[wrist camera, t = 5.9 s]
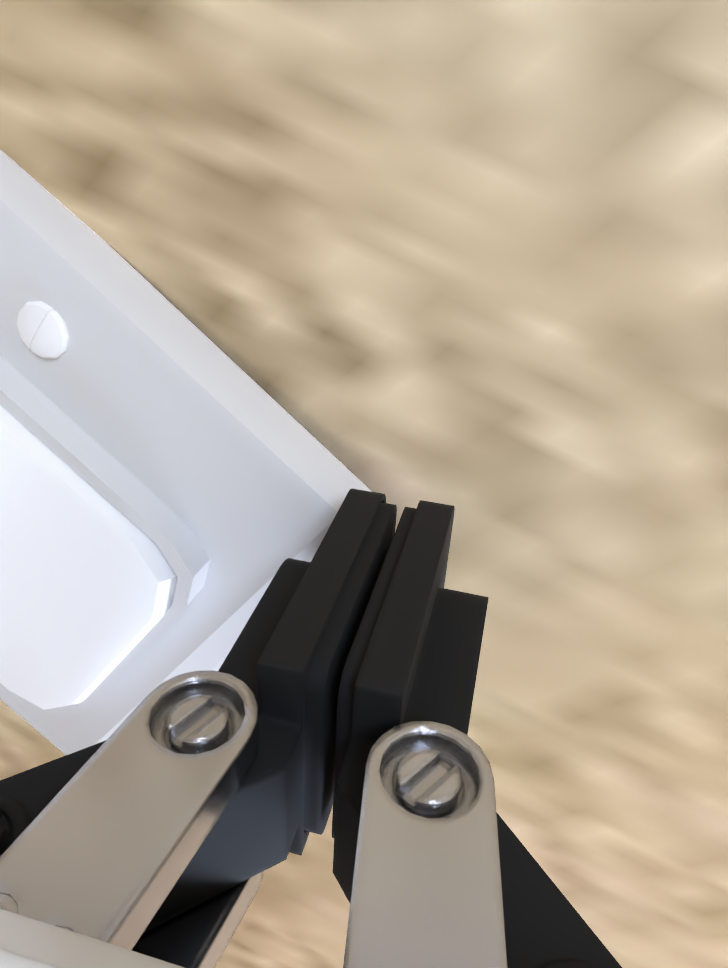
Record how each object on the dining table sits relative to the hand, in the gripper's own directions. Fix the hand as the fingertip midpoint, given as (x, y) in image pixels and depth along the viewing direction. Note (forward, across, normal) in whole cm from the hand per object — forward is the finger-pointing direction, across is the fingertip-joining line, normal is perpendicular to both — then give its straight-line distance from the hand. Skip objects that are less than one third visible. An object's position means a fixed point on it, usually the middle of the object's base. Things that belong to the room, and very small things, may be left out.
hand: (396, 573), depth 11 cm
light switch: (+2, +9, 0) cm, 9 cm away
